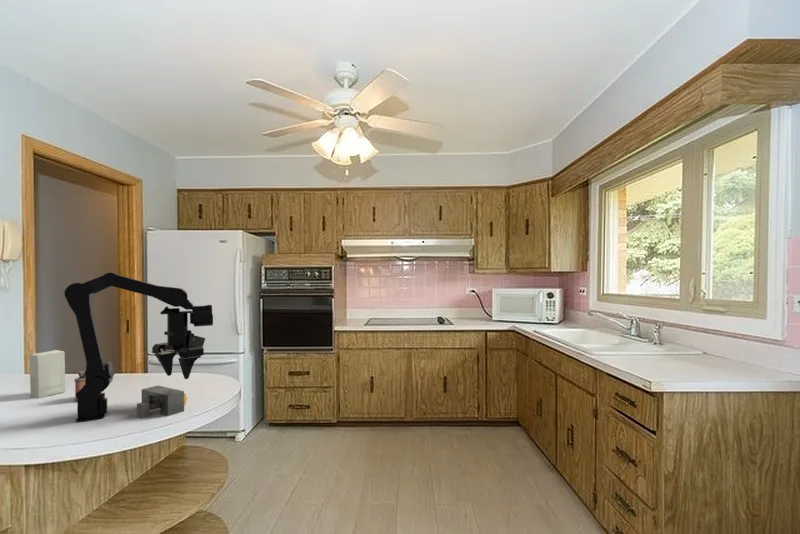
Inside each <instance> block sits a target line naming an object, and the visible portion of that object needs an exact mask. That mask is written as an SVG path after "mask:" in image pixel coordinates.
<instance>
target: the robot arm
mask: <svg viewBox="0 0 800 534" xmlns="http://www.w3.org/2000/svg"><path fill="white" fill-rule="evenodd" d="M111 287H114V288H118V289H120V290H121V289H122V290H126V291H129V292H134V293H137V294H140V295H144V296H148V297H151V298H154V299H156V300H158V301H160V302H163V303H165V304H167V306H165V307H164V309H162V310H161V311H160V315H167V319H166V322H167V325H166V326H167V327H166V329H167V330H166V331H165V330H164V333H163V334H164V336H166V337H167V338H166V339H167V340H166V342H160V343H155V344H154V345H153V346H152V347H151V349H152V350H151V351H152V354H154V357H156V359H157V360H158V362H159V363H160V365H161V367H162V368H163V371H164V372H165V374H166V376H168V377H169V376H172V372H173V365H174V364H173V362H174V358H175V357H176V355H177V354H178V357H179V358H178V363H179V365H180V370H181V371H182V375H183V378H184V380H188V379H189V378H190V376H191V373H192V369H193V367H194V364H195V362H196V361H197V360H198V359H200V358H202V356H204V355H205V348H204V345H205V341H206V338H205V337H203V336H198V335H195V333H192V330H190V329H188V327H189V326H188V325H189V324H190V325H191V324H192V325H193V327H210V326H214V325H213V324H214V314H213V305H212V304H206V305H193V302H191V301H190V300H189V299H188V293H187V292H186V290H185V289H184V288H180V287H173V286H166V285H165V286H162V285H157V284H152V283H150V282H146V281H142V280H139V279H134V278H131V277H127V276H124V275H120V274H118V273H116V272H107V273H104V275H101V276H99V277H95V278H93V279H91V280H87V281H85V282H74V283H71V284H69V285H68V286H66V288H65V290H64V297H65V300H66V301H67V304H68V306H69V307H70V310H71V311H72V312H73V313H74V316H75V318H76V323H77V326H78V332H79V336H80V340H81V344H82V349H83V353H84V357H85V363H86V365H85V369H86V372H85V385H84V386H83V387H82V388H81V389H80V390H79V391H78V392H77V393H76V397H77V402H76V403H77V405H76V406H77V408H76V409H77V410H76V411H77V412H76V413H77V414H76V415H77V418H76V420H75V422H77V423H78V422H85V421H92V420H97V419H98V420H99V419H103V418H105V416H106V415H107V414H108V397H106V393H105V392H104V391H106V389H107V388H108V387H109V386H110V384H111V383H112V381H113V379H114V376H115V374H116V371H114V369H113V361H112V360H110V361H108V362H107V360H106V359H105V357H104V354H103V349H102V345H101V342H100V337H99V333H98V329H97V323H96V318H95V315H94V307H95V305H94V304H95V295H96V294H97V293H100V292H102V291H103V290H106V289H108V288H111ZM168 305H169V306H172V307H174V308H170V307H168ZM180 307H181V308H182V309H185V310H180ZM188 315H189V316H188ZM188 317H189V319H188ZM188 320H189V321H188ZM188 322H189V323H188Z"/></svg>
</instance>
